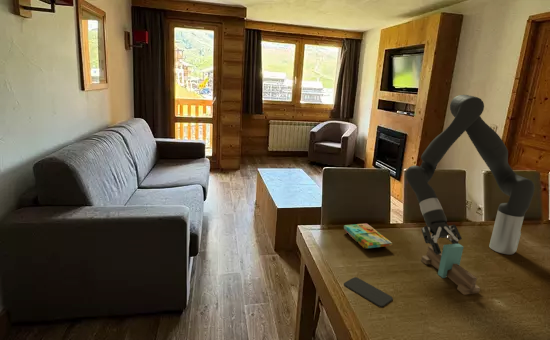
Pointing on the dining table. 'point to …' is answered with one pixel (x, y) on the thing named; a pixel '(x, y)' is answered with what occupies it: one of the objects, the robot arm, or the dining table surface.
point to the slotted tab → (449, 258)
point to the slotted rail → (454, 273)
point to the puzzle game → (366, 236)
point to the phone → (368, 292)
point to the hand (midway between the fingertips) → (448, 253)
